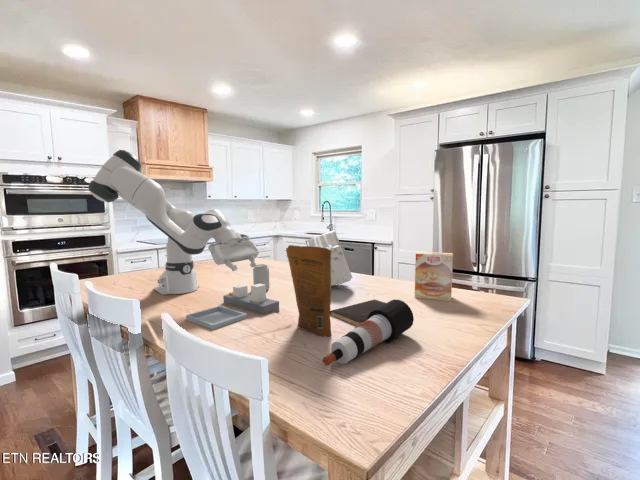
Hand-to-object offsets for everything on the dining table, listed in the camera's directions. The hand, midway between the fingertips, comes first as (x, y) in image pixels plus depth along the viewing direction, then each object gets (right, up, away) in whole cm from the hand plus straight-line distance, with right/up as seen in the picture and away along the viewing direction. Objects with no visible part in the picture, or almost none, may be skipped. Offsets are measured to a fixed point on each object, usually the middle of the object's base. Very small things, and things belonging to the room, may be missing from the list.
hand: (245, 268), depth 134 cm
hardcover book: (+47, -17, -8) cm, 51 cm away
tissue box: (+34, -12, +35) cm, 50 cm away
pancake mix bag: (+27, -19, -23) cm, 40 cm away
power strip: (+2, -16, 0) cm, 16 cm away
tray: (-7, -18, -15) cm, 24 cm away
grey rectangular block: (+6, -15, -3) cm, 17 cm away
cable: (+43, -20, -38) cm, 61 cm away
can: (+2, -13, +28) cm, 31 cm away
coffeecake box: (+79, -14, +13) cm, 81 cm away
